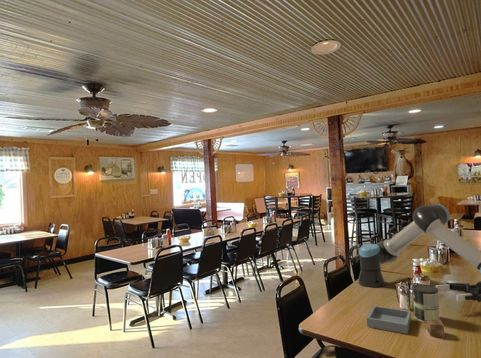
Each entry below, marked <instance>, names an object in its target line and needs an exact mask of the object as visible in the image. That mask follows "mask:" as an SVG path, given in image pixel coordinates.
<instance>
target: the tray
mask: <svg viewBox="0 0 481 358" xmlns="http://www.w3.org/2000/svg"><path fill="white" fill-rule="evenodd" d="M411 322H412V311H411V310H406V309H398V308H391V307H385V306H378V305H373V306H372V308H371V310H370V312H369V313H368V315H367V317H366V326H367V327H368V328H372V329H378V330H383V331H389V332H395V333H400V334H404V335H408V334H409V330H410V326H411Z"/></svg>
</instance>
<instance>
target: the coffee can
mask: <svg viewBox="0 0 481 358" xmlns="http://www.w3.org/2000/svg"><path fill="white" fill-rule="evenodd" d="M411 288H412V296H413V297H412V299H413V314H414V319H415V320H416V321H418V322H422V323H425V324H427V319H431V320H441V319H440V305H439V291H438V288H436V286H434V285H431V284H424V283H421V284H420V283H419V284H414V285H412V286H411Z"/></svg>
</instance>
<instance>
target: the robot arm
mask: <svg viewBox="0 0 481 358" xmlns="http://www.w3.org/2000/svg"><path fill="white" fill-rule="evenodd" d="M412 219H413V221H412V222H410V223H409V224H407V225H406V226H405V227H404V228H403V229H401V230H400V231H399V232H397V233H396V234H395V235H394V236H393V237H391V238H389V239H384V240H383V241H382V242H381V243H379V244H375V243H369V244H367V243H366V244H363V245H361V246H360V247H359V262H360V263H359V265H360V272H359V276H358V281H357V282H358V284H359V285H360V286H364V287H369V288H379V287H384V286H385V284H386V283H385V279H384V275H383V273H382V269H381V268H382V266H381V265H383V264H388V263H392V262H394V261H396V260H397V259H398V257H399V255H400V254H401V251H402V250H404V248H406V247H407V246H408V245H410V244H412V243H413V242H415V240H417V239H418V238H420V237H421V236H422V235H424V234H427V235H431V236H432V237H434V238H435V239H437V240H438V241H440V242H441V243H442V244H443V245H445V246H446V247H448V248H449V249H451V250H452V251H453V252H454V253H456V255H458V256H459V257H461V258H462V259H464V260H465V261H466V262H468V263H469V264H470V265H472V266H473V267H475V268H476V269H477V270H478V271H479V274H480V275H481V249H479V248H478V247H476V246H474V245H473V244H472V243H470V242H469V241H467V240H466V239H465V238H463V237H462V236H461V235H459V234H457V233H456V232H454V231H453V230H451V229H450V228H449V227H448V226H446V225H445V224H447V223H448V222H449V220H450V211H449V210H448V208H447V207H445V206H444V205H442V204H441V203H440V204H439V203H438V204H437V203H433V204H430V205H429V204H428V205H421V206H418V207H417V208H415V210H414V211H413V214H412ZM445 283H446V284H438V285H437V284H436V285H435V287H436V288H438V292H446V291H448V292H450V291H457V292H458V291H459V292H465V293H461V294H456V295H455V296H456V297H455V298H456V301H457V302H467V301H474V302H476V301H477V302H478V303H481V281H480V280H479V281H477V283H476V284H470V283H469V282H467V283H465V282H464V283H463V282H462V283H461V282H445Z"/></svg>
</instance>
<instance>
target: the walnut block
mask: <svg viewBox="0 0 481 358" xmlns="http://www.w3.org/2000/svg"><path fill="white" fill-rule="evenodd" d="M426 326H427V332H428V334H429V336H430V337H435V338H443V339H444V338H445V325H444V323H443V321H442V320H441V319H440V320H431V319H427V323H426Z"/></svg>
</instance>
